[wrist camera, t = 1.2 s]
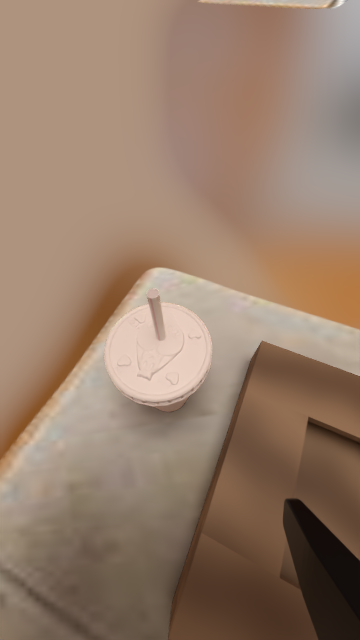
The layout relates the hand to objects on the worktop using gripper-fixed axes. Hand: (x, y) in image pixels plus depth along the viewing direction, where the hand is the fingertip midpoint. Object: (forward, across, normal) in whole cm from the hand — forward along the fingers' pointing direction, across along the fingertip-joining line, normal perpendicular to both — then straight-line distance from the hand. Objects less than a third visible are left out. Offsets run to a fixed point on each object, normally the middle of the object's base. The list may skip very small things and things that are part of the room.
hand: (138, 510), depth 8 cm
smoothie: (+15, 0, +4) cm, 15 cm away
